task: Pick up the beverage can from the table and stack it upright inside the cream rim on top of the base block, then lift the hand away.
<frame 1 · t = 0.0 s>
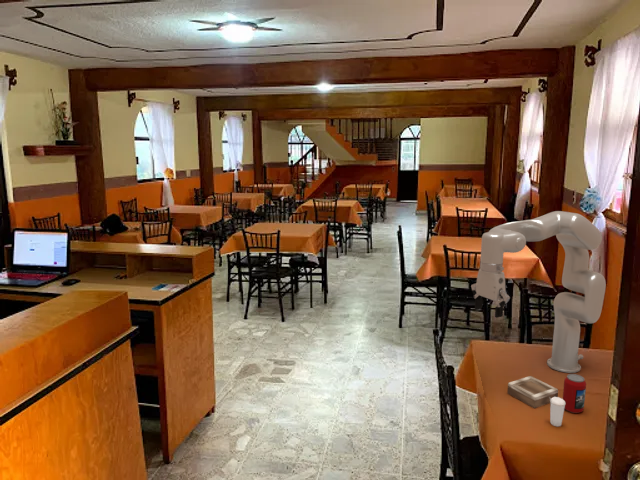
hand: (488, 312, 177), 31 cm above the table, tool pointing down, fingers open, 9 cm apart
beverage can: (572, 409, 171), on the table
base block: (531, 396, 179), on the table
milkshake: (554, 424, 162), on the table
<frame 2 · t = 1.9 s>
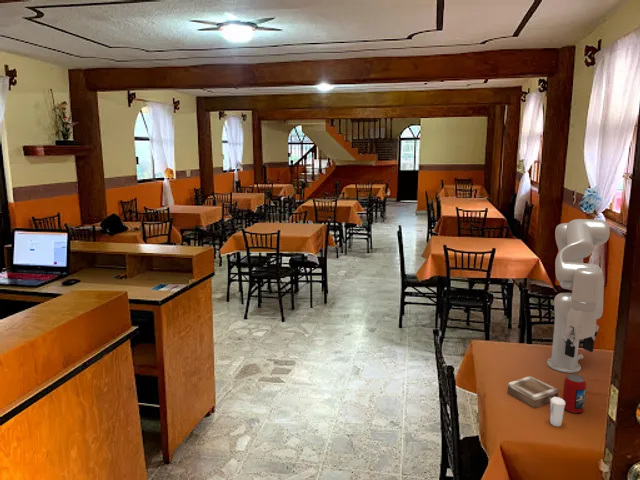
hand: (578, 353, 166), 21 cm above the table, tool pointing down, fingers open, 9 cm apart
nothing on the table moved.
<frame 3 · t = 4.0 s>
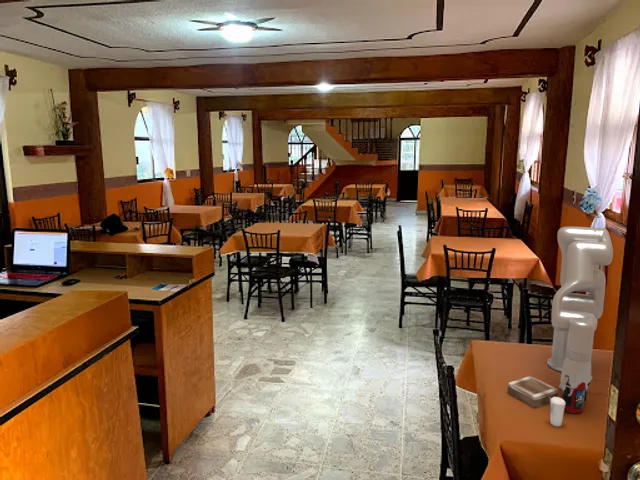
hand: (574, 401, 170), 3 cm above the table, tool pointing down, fingers closed on beverage can, 6 cm apart
beverage can: (571, 409, 171), on the table, touching gripper
everything else where it was.
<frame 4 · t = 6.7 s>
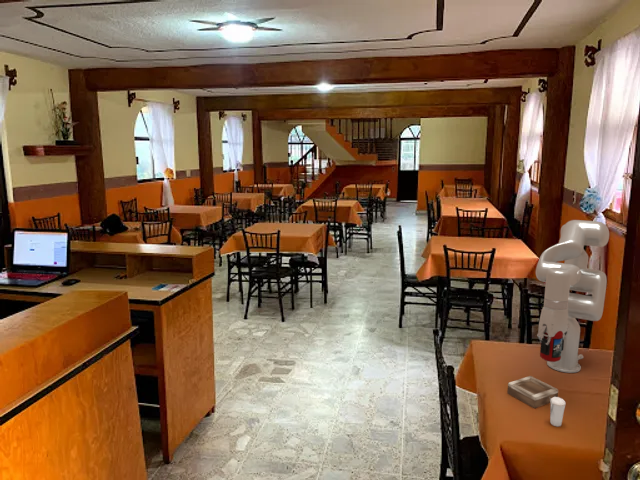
hand: (551, 351, 172), 19 cm above the table, tool pointing down, fingers closed on beverage can, 6 cm apart
beverage can: (550, 359, 173), point 16 cm above the table, touching gripper
everything else where it was.
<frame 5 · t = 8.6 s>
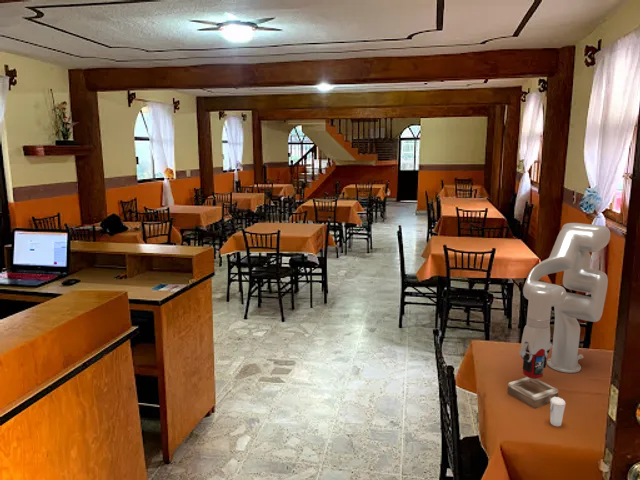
hand: (534, 368, 177), 11 cm above the table, tool pointing down, fingers closed on beverage can, 6 cm apart
beverage can: (532, 376, 178), point 8 cm above the table, touching gripper
everything else where it was.
when the fingers open (8 cm above the table, at t = 9.8 s): beverage can drops 2 cm, resting on base block.
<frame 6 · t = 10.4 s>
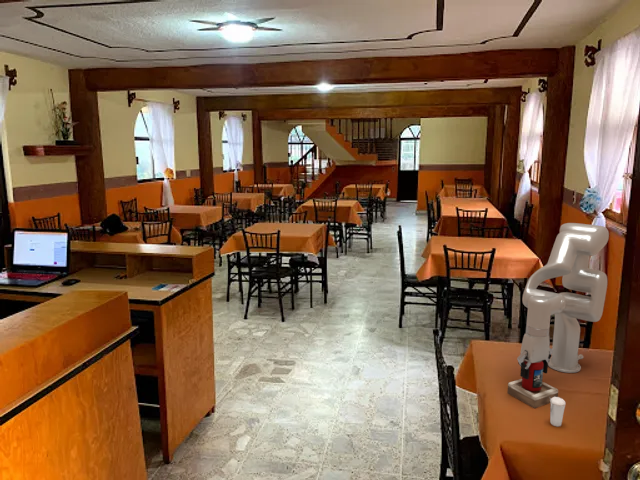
hand: (533, 374, 178), 9 cm above the table, tool pointing down, fingers open, 9 cm apart
beverage can: (531, 389, 179), point 3 cm above the table, touching base block
everything else where it was.
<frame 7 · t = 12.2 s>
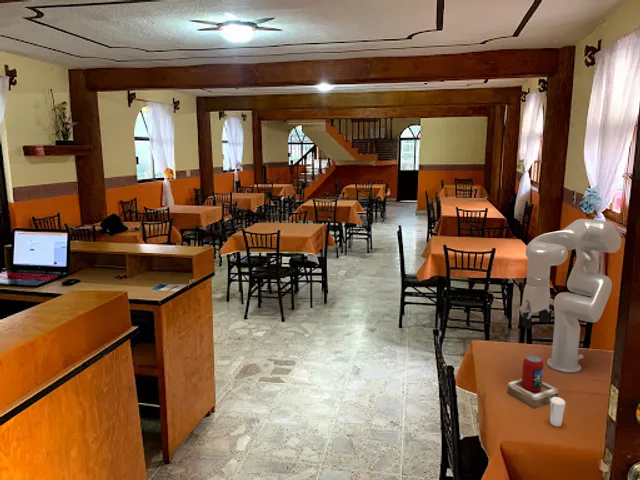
hand: (535, 324, 182), 25 cm above the table, tool pointing down, fingers open, 9 cm apart
nothing on the table moved.
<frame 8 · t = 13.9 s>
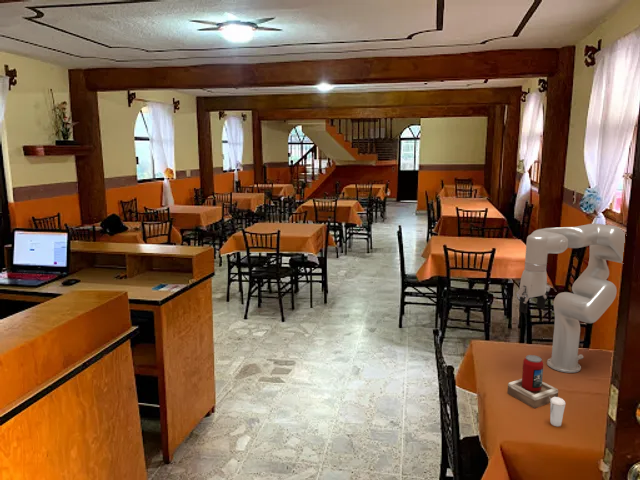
hand: (531, 310, 188), 28 cm above the table, tool pointing down, fingers open, 9 cm apart
nothing on the table moved.
at the end: beverage can 0.5 cm off-centre on the base block, point 2.8 cm above the base block's base; beverage can tilted 0°; the gripper is holding nothing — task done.
